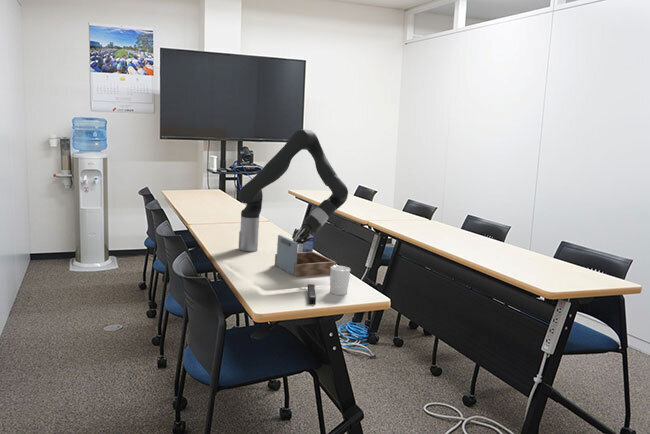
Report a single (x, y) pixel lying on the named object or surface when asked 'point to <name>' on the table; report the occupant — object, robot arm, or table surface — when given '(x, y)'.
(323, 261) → the wooden tray
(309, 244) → the ink cartridge box
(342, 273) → the white cup
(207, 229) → the table surface
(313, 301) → the portable electronic device stand
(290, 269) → the blue-grey flat rectangular panel
